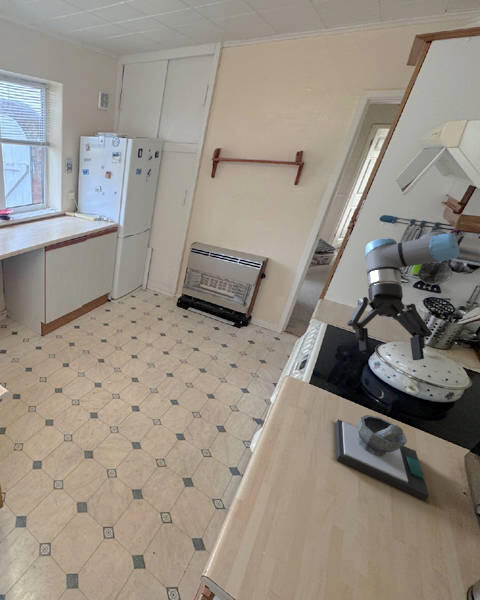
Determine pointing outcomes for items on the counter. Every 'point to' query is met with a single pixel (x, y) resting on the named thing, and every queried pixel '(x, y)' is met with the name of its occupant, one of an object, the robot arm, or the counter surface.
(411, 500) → the counter surface
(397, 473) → the kitchen scale
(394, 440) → the mortar and pestle
